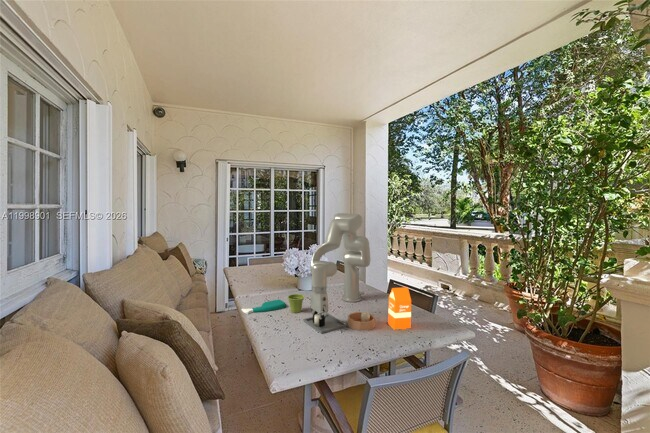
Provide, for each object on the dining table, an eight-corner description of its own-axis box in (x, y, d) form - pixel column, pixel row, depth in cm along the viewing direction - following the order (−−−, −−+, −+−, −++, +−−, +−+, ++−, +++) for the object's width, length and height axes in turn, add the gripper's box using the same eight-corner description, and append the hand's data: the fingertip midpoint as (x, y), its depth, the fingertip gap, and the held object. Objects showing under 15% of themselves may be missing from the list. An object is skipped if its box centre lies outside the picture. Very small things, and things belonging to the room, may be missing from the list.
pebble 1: (319, 322, 150) (320, 313, 150) (324, 325, 147) (324, 316, 146) (312, 324, 148) (312, 315, 148) (317, 327, 144) (317, 317, 144)
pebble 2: (365, 320, 153) (365, 311, 153) (371, 323, 150) (371, 313, 150) (359, 322, 151) (359, 312, 151) (365, 325, 147) (365, 315, 147)
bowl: (362, 318, 158) (362, 310, 158) (380, 327, 147) (380, 318, 147) (342, 323, 151) (342, 315, 150) (359, 333, 139) (359, 324, 139)
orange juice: (387, 323, 151) (388, 285, 150) (403, 322, 153) (404, 285, 152) (394, 330, 144) (395, 290, 143) (410, 328, 146) (411, 289, 145)
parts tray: (327, 315, 161) (327, 313, 161) (347, 327, 146) (347, 324, 146) (303, 322, 152) (303, 319, 152) (321, 334, 138) (321, 331, 138)
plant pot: (301, 315, 162) (301, 299, 161) (285, 313, 164) (285, 298, 163) (305, 309, 171) (306, 294, 170) (290, 308, 173) (290, 293, 172)
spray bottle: (287, 308, 173) (246, 317, 159) (279, 303, 182) (240, 311, 169) (287, 303, 173) (246, 312, 159) (279, 298, 182) (240, 306, 168)
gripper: (334, 292, 142) (334, 328, 142) (316, 283, 156) (316, 317, 156) (322, 294, 137) (321, 332, 138) (304, 285, 151) (303, 320, 152)
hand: (318, 323), depth 147 cm, fingers open, 5 cm apart
